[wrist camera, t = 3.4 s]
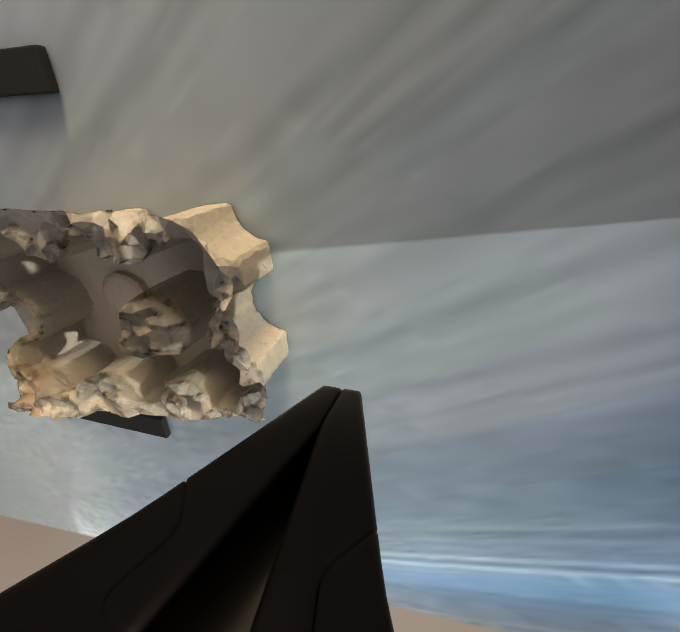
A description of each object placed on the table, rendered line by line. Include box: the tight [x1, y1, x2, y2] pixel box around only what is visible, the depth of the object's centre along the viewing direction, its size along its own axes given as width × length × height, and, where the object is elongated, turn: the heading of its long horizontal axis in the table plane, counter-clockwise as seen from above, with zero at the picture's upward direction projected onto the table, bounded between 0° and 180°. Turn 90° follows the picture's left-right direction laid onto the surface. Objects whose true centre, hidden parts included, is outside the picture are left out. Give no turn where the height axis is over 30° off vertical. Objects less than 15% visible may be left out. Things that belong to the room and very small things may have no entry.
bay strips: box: [0, 45, 170, 438], centre depth 15 cm, size 7×16×1 cm, turn 1°
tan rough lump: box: [0, 203, 289, 422], centre depth 12 cm, size 11×8×4 cm
